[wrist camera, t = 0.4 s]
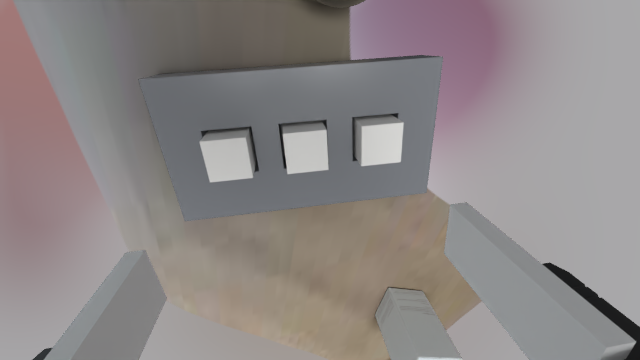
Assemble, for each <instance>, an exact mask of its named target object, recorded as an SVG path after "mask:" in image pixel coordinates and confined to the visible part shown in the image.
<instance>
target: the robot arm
mask: <svg viewBox="0 0 640 360" xmlns="http://www.w3.org/2000/svg"><path fill="white" fill-rule="evenodd" d="M444 254H445V255H446V256H447V258H448V259H449V260H450V261H451V263H452V264H453V265H454V266H455V268H456V269H457V270H458V271H459V273H460V274H461V275H462V276H463V278H464V279H465V280H466V281H467V283H468V284H469V285H470V286H471V288H472V289H473V290H474V291H475V293H476V294H477V295H478V296H479V298H480V299H481V300H482V301H483V302H484V304H485V305H486V306H487V307H488V309H489V310H490V311H491V313H492V314H493V315H494V316H495V317H496V319H497V320H498V321H499V323H501V325H502V326H503V327H504V329H505V330H506V331H507V332H508V334H509V335H510V336H511V337H512V338H513V340H514V341H515V342H516V343H517V345H518V346H519V347H520V349H521V350H522V351H523V352H524V353H525V355H526V356H527V357H528V359H529V360H640V327H639V326H637V325H636V324H635V323H634V322H632V321H631V320H630V319H628V318H627V317H626V316H625V315H623V314H622V313H621V312H619V311H618V310H617V309H616V308H614V307H613V306H612V305H610V304H609V303H608V302H606V301H605V300H604V299H602V298H599V297H598V295H597V294H596V293H595V292H594V291H592V290H591V289H590V288H588V287H585V285H584V284H583V283H582V282H581V281H579V280H578V279H577V278H575V277H574V276H573V275H572V274H570V273H569V272H567V271H565V270H563V269H561V268H559V267H557V266H555V265H553V264H551V263H545V264H541V263H540V262H539V261H537V260H536V259H535V258H534V257H533V256H532V255H530V254H529V253H528V252H527V251H525V250H524V249H523V248H522V247H521V246H519V245H518V244H517V243H516V242H514V241H513V240H512V239H511V238H509V237H508V236H507V235H506V234H505V233H503V232H502V231H501V230H500V229H499V228H497V227H496V226H495V225H494V224H492V223H491V222H490V221H489V220H488V219H486V218H485V217H484V216H483V215H482V214H480V213H479V212H478V211H477V210H475V209H474V208H473V207H472V206H471V205H469V204H468V203H467V202H465V203H458V204H451V205H450V211H449V219H448V226H447V234H446V242H445V250H444ZM166 299H167V297H166V295H165V292H164V290H163V288H162V286H161V284H160V281H159V279H158V277H157V275H156V273H155V270H154V268H153V266H152V264H151V262H150V259H149V257H148V255H147V253H146V251H145V250H141V251H134V252H127V253H125V254H124V256H123V257H122V258H121V260H120V261H119V262H118V264H117V265H116V266H115V267H114V269H113V270H112V272H111V273H110V274H109V275H108V276H107V278H106V279H105V280H104V282H103V283H102V284H101V286H100V287H99V288H98V290H97V291H96V292H95V293H94V295H93V296H92V297H91V299H90V300H89V301H88V303H87V304H86V305H85V307H84V308H83V309H82V310H81V312H80V313H79V314H78V316H77V317H76V319H75V320H74V321H73V322H72V323H71V325H70V326H69V328H68V329H67V330H66V331H65V333H64V334H63V335H62V337H61V338H60V339H59V340H58V342H57V343H56V345H55V346H54V347H53V348H49V349H44V350H43V351H42V352H41V353H40V354H38V355H37V356H36V357H35V358H34V359H33V360H139V358H140V356H141V353H142V351H143V349H144V347H145V345H146V342H147V340H148V338H149V336H150V334H151V332H152V330H153V327H154V325H155V323H156V320H157V319H158V317H159V314H160V312H161V310H162V308H163V306H164V303H165V301H166Z"/></svg>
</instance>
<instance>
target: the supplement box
mask: <svg viewBox="0 0 640 360" xmlns="http://www.w3.org/2000/svg"><path fill="white" fill-rule="evenodd" d="M375 317H376V319H377V322H378V325H379V328H380V331H381V333H382V336H383V339H384V342H385V344H386V347H387V350H388V353H389V356H390V358H391V360H462V357H461V356H460V354H459V352H458V351H457V349H456V347H455V346H454V344H453V342H452V340H451V339H450V337H449V335H448V334H447V332H446V330H445V328H444V327H443V325H442V323H441V322H440V320H439V318H438V316H437V315H436V313H435V311H434V310H433V308H432V306H431V305H430V303H429V301H428V299H427V298H426V296H425V294H424V293H423V291H417V290H407V289H398V288H388V289H387V291H386V293H385V295H384V297H383V299H382V301H381V303H380V305H379V307H378V309H377V311H376V314H375Z"/></svg>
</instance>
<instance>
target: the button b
mask: <svg viewBox="0 0 640 360" xmlns="http://www.w3.org/2000/svg"><path fill="white" fill-rule="evenodd" d="M282 130H283V141H284V150H285V158H286V166H287V174H294V173H304V172H313V171H322V170H329V167H328V148H327V130H326V128H325V126H324V124H323V122H322V120H316V121H305V122H294V123H283V124H282Z"/></svg>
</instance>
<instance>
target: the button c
mask: <svg viewBox="0 0 640 360" xmlns="http://www.w3.org/2000/svg"><path fill="white" fill-rule="evenodd" d="M403 124H404V122H402V121H400V120H399V119H397V118H396V117H394V116H392V115H391V114H382V115H371V116H360V117H352V151H353V154H354V156H355V157H356V159H357V160H358V162H359V163H360V165H361V166H369V165H379V164H388V163H397V162H401V152H402V138H403Z"/></svg>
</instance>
